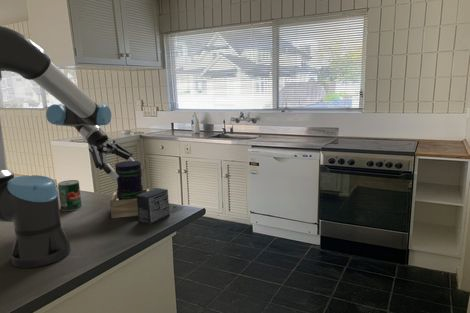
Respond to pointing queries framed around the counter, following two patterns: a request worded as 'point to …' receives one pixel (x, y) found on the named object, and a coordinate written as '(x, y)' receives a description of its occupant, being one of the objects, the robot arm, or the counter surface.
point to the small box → (153, 205)
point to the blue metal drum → (129, 179)
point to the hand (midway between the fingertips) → (128, 174)
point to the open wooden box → (123, 206)
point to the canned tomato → (69, 195)
